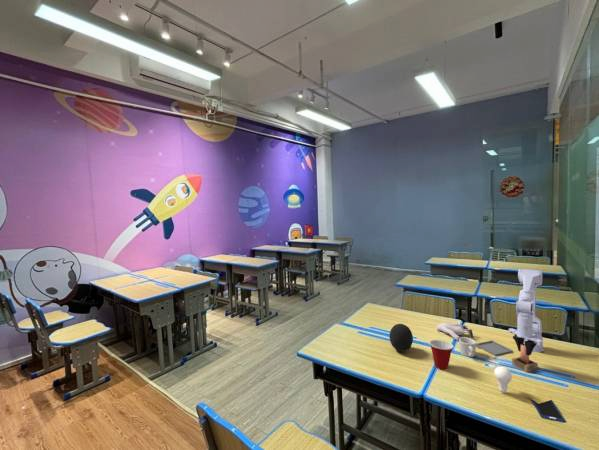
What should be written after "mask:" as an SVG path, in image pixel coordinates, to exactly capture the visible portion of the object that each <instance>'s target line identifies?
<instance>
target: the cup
mask: <svg viewBox="0 0 599 450" xmlns="http://www.w3.org/2000/svg"><path fill="white" fill-rule="evenodd" d="M460 337H461V338H459V342H458V344H459V352H460V354H461V355H462V356H464V357H467V358H472V357H475V356H476V348H477V347H476V344H477V341H476V340H475V339H473V338H472V339H471V338H470V337H465V336H460Z"/></svg>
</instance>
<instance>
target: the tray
mask: <svg viewBox="0 0 599 450" xmlns="http://www.w3.org/2000/svg"><path fill="white" fill-rule="evenodd" d="M476 348H478V349H479V350H483V351H485V352H487V353H489V354H491V355H492V356H495V357H497V356H498V357H499V356H501V355H506V354H510V353H513V352H514V351H513V349H511V348H509V347H506V346H505V345H502V344H500V343H498V342H497V341H494V340H488V341H482V342H478V343H477V342H476Z"/></svg>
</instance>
